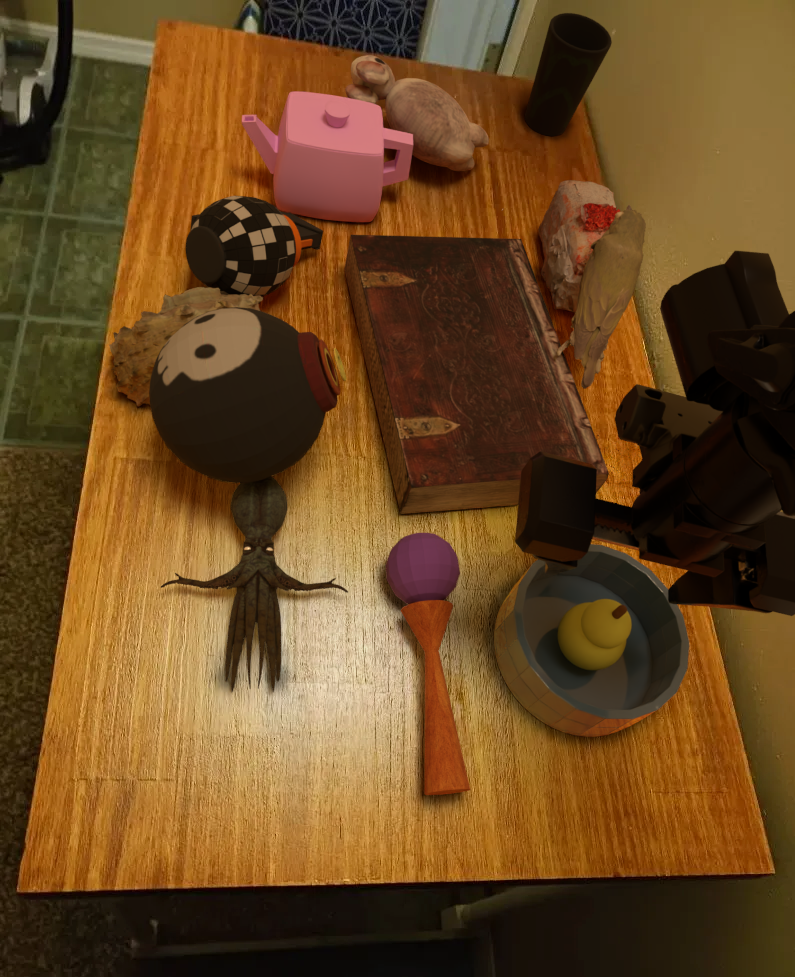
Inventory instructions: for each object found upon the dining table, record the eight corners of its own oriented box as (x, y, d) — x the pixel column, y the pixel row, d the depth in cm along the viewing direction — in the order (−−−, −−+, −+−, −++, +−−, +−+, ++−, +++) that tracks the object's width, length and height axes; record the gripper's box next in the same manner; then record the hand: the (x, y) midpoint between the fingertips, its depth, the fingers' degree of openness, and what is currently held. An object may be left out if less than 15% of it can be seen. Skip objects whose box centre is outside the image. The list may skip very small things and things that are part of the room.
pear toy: (605, 687, 67) (654, 652, 59) (542, 666, 66) (585, 628, 59) (613, 628, 69) (661, 588, 62) (553, 608, 69) (594, 564, 62)
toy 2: (374, 101, 102) (300, 80, 90) (406, 44, 98) (333, 14, 86) (530, 242, 96) (473, 240, 84) (570, 187, 92) (517, 177, 80)
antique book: (591, 498, 76) (614, 471, 72) (399, 515, 71) (411, 487, 67) (510, 270, 90) (524, 236, 86) (343, 271, 85) (350, 234, 81)
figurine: (148, 687, 56) (168, 452, 63) (153, 701, 61) (172, 481, 68) (355, 688, 59) (352, 462, 66) (343, 700, 64) (342, 490, 71)
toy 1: (120, 303, 63) (302, 242, 62) (198, 419, 73) (356, 369, 72) (107, 425, 54) (319, 357, 53) (197, 537, 65) (377, 483, 63)
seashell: (287, 361, 78) (295, 277, 71) (180, 447, 70) (176, 362, 62) (199, 306, 81) (198, 219, 73) (86, 382, 72) (70, 293, 65)
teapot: (236, 211, 86) (239, 126, 77) (242, 146, 91) (246, 60, 83) (403, 233, 89) (424, 154, 81) (399, 169, 95) (418, 89, 86)
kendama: (407, 792, 56) (382, 524, 64) (405, 799, 61) (382, 551, 70) (493, 784, 56) (457, 518, 65) (483, 791, 62) (451, 545, 70)
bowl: (648, 761, 65) (682, 744, 60) (477, 703, 64) (498, 682, 60) (663, 602, 72) (694, 577, 68) (511, 549, 72) (532, 520, 67)
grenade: (159, 176, 73) (277, 167, 84) (151, 274, 79) (264, 254, 90) (245, 225, 69) (359, 209, 80) (231, 326, 74) (339, 298, 85)
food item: (613, 328, 89) (655, 261, 80) (544, 322, 87) (580, 254, 79) (588, 238, 95) (624, 168, 87) (523, 231, 94) (554, 159, 85)
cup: (514, 131, 103) (547, 40, 93) (519, 96, 107) (551, 5, 97) (572, 148, 104) (611, 59, 94) (574, 113, 108) (612, 24, 98)
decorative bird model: (642, 220, 83) (670, 198, 78) (587, 398, 79) (613, 387, 74) (599, 198, 82) (625, 175, 77) (541, 378, 78) (565, 365, 73)
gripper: (870, 400, 49) (726, 513, 62) (576, 321, 47) (494, 455, 61) (897, 567, 43) (733, 652, 57) (566, 485, 42) (478, 593, 55)
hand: (609, 582), depth 58 cm, fingers open, 9 cm apart
